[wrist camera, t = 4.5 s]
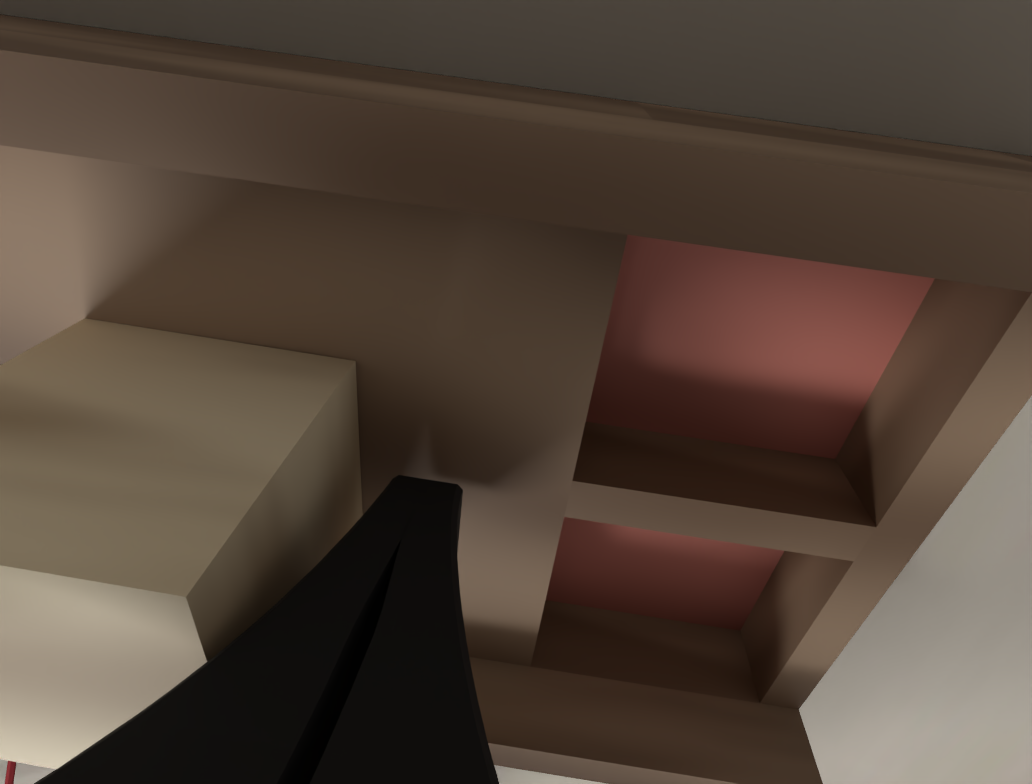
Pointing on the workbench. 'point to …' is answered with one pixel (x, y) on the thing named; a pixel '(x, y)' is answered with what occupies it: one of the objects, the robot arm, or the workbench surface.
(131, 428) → the block
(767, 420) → the long open wooden box
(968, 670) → the workbench surface
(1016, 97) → the workbench surface
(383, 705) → the robot arm
